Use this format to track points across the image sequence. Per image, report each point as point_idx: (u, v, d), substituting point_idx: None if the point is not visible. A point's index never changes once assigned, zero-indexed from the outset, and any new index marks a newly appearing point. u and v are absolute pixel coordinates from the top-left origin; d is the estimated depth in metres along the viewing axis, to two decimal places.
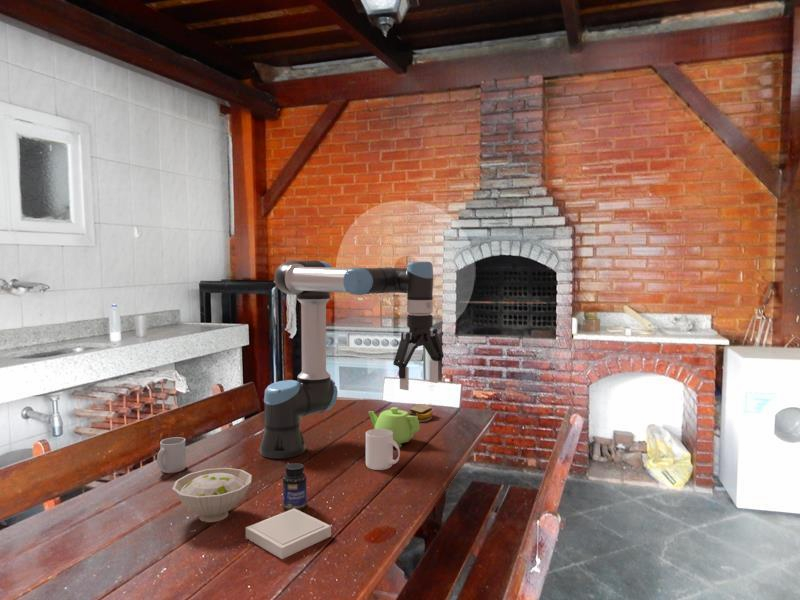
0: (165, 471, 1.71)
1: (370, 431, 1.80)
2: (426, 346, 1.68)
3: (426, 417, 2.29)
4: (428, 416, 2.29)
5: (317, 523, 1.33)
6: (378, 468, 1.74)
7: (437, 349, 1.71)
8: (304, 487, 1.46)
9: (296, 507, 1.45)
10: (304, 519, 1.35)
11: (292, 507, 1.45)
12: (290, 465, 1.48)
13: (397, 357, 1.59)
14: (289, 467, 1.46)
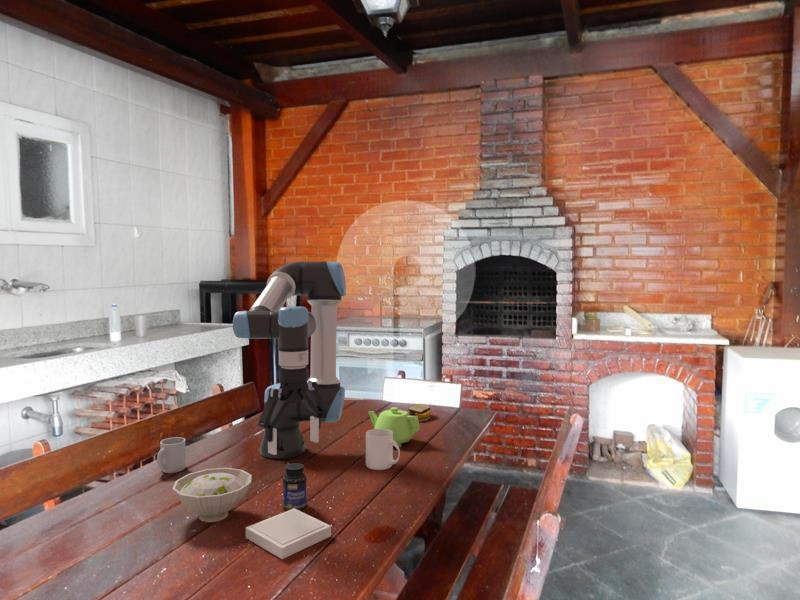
0: (165, 471, 1.71)
1: (370, 431, 1.80)
2: (304, 402, 1.49)
3: (425, 417, 2.29)
4: (427, 416, 2.30)
5: (317, 523, 1.33)
6: (378, 468, 1.74)
7: (318, 404, 1.51)
8: (304, 487, 1.46)
9: (296, 507, 1.45)
10: (304, 519, 1.35)
11: (292, 507, 1.45)
12: (290, 465, 1.48)
13: (262, 417, 1.39)
14: (289, 467, 1.46)
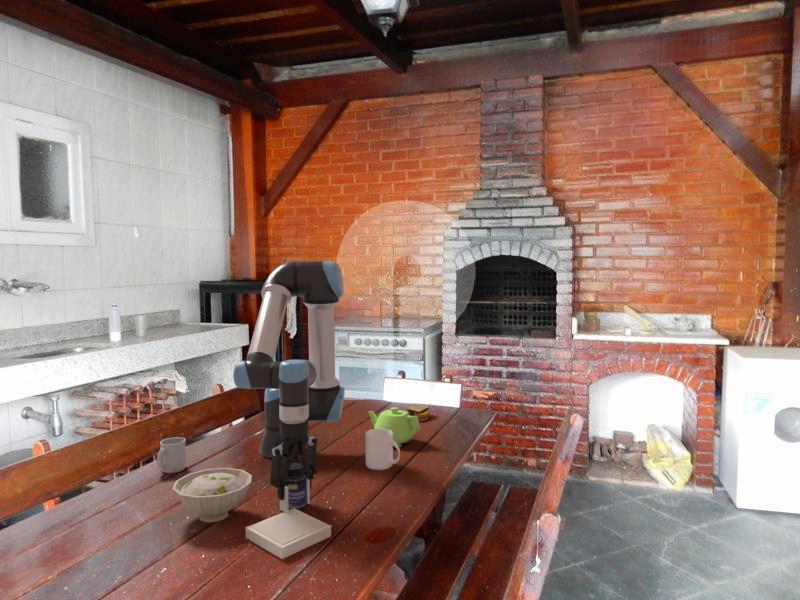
0: (165, 471, 1.71)
1: (370, 431, 1.80)
2: (300, 457, 1.49)
3: (424, 416, 2.30)
4: (426, 415, 2.30)
5: (317, 523, 1.33)
6: (378, 468, 1.74)
7: (312, 462, 1.51)
8: (304, 487, 1.46)
9: (296, 507, 1.45)
10: (304, 519, 1.35)
11: (292, 507, 1.45)
12: None
13: (272, 478, 1.42)
14: None
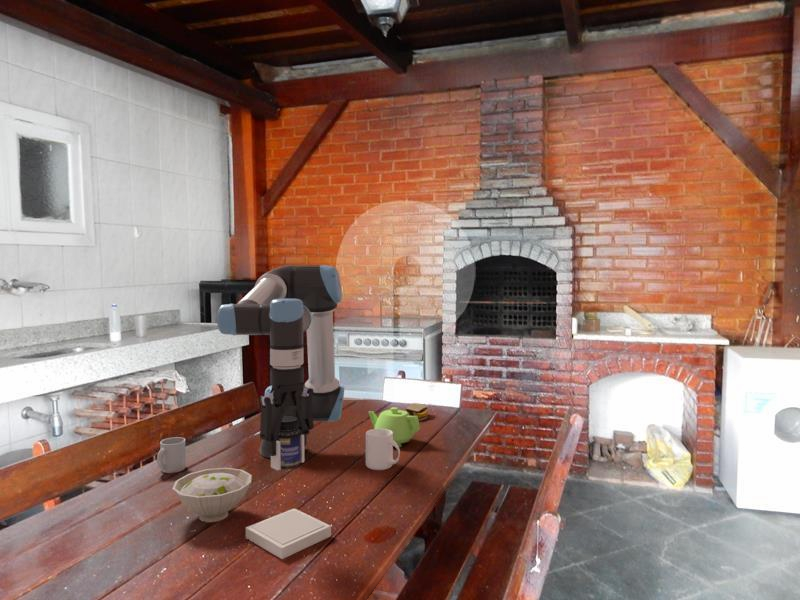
0: (165, 471, 1.71)
1: (370, 431, 1.80)
2: (293, 409, 1.31)
3: (423, 416, 2.30)
4: (425, 415, 2.31)
5: (317, 523, 1.33)
6: (378, 468, 1.74)
7: (307, 416, 1.33)
8: (298, 442, 1.29)
9: (289, 464, 1.28)
10: (304, 519, 1.35)
11: (284, 464, 1.28)
12: None
13: (262, 430, 1.25)
14: None
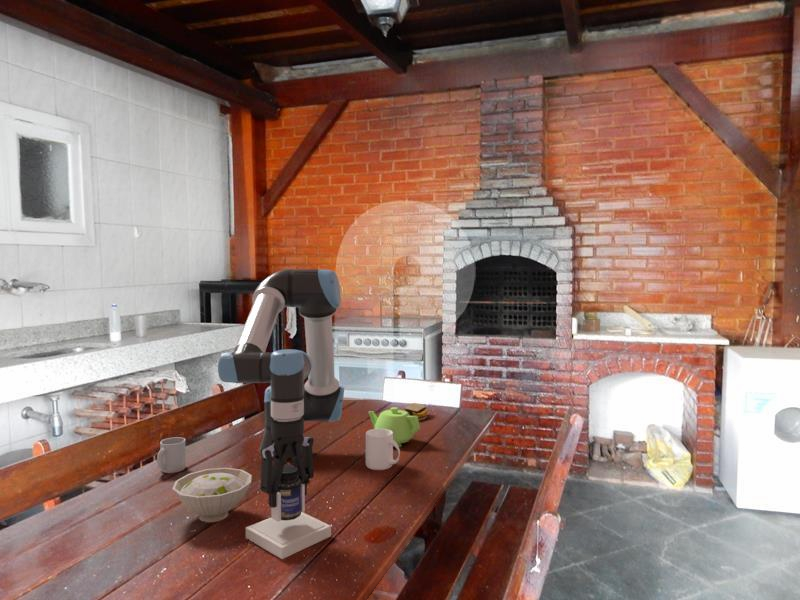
0: (165, 471, 1.71)
1: (370, 431, 1.80)
2: (294, 459, 1.32)
3: (422, 416, 2.30)
4: (424, 415, 2.31)
5: (317, 523, 1.33)
6: (378, 468, 1.74)
7: (307, 465, 1.34)
8: (298, 493, 1.30)
9: (289, 515, 1.29)
10: (304, 519, 1.35)
11: (285, 516, 1.28)
12: (283, 468, 1.31)
13: (263, 482, 1.26)
14: None
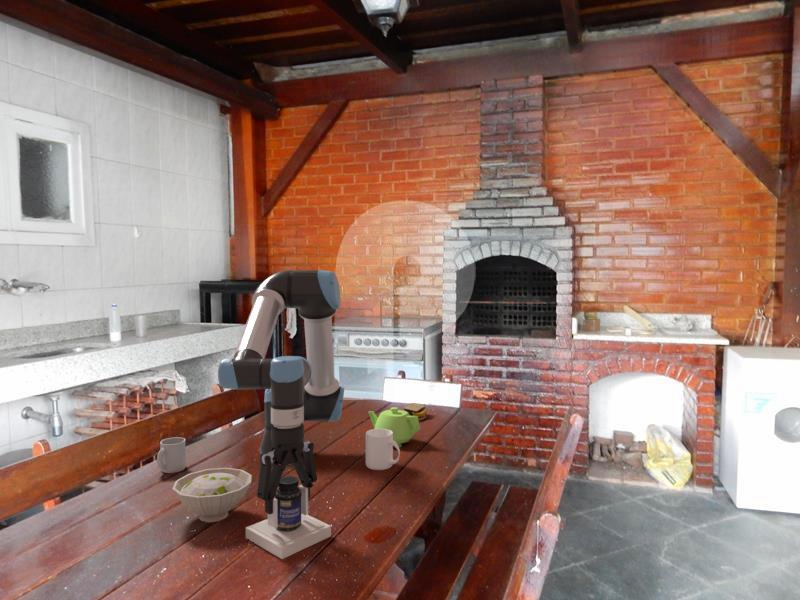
0: (165, 471, 1.71)
1: (370, 431, 1.80)
2: (295, 465, 1.33)
3: (421, 416, 2.31)
4: (423, 415, 2.31)
5: (317, 523, 1.33)
6: (378, 468, 1.74)
7: (310, 469, 1.35)
8: (299, 504, 1.30)
9: (290, 526, 1.29)
10: (304, 519, 1.35)
11: (285, 526, 1.29)
12: (283, 479, 1.31)
13: (260, 489, 1.26)
14: (282, 481, 1.30)
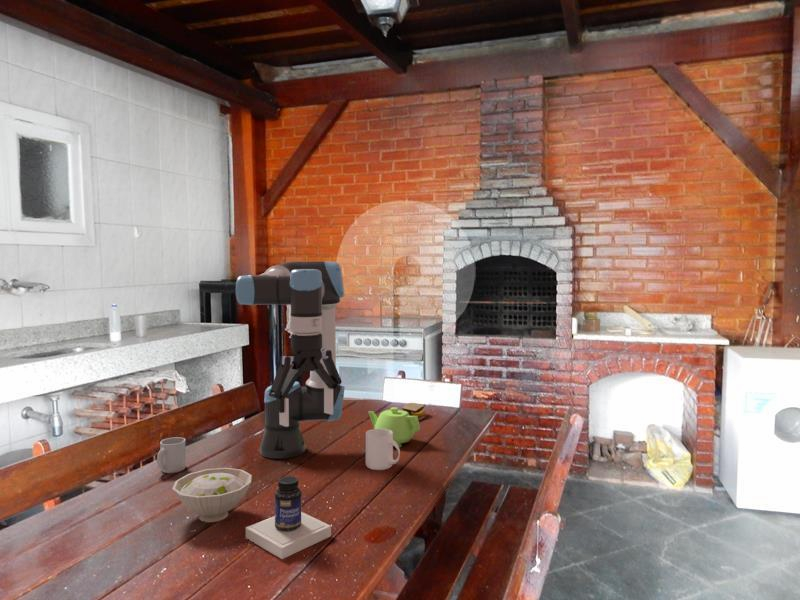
0: (165, 471, 1.71)
1: (370, 431, 1.80)
2: (317, 371, 1.39)
3: (420, 415, 2.31)
4: (422, 414, 2.32)
5: (317, 523, 1.33)
6: (378, 468, 1.74)
7: (333, 374, 1.42)
8: (299, 503, 1.30)
9: (290, 526, 1.29)
10: (304, 519, 1.35)
11: (285, 526, 1.29)
12: (283, 478, 1.32)
13: (273, 387, 1.30)
14: (282, 481, 1.30)
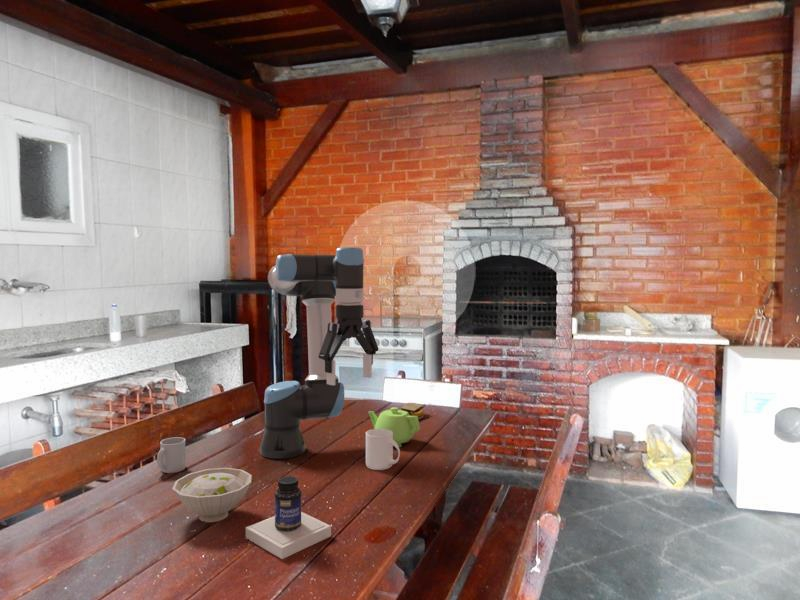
0: (165, 471, 1.71)
1: (370, 431, 1.80)
2: (358, 338, 1.57)
3: (419, 415, 2.31)
4: (421, 414, 2.32)
5: (317, 523, 1.33)
6: (378, 468, 1.74)
7: (371, 342, 1.60)
8: (299, 503, 1.30)
9: (289, 526, 1.29)
10: (304, 519, 1.35)
11: (285, 526, 1.29)
12: (283, 478, 1.32)
13: (322, 350, 1.48)
14: (281, 481, 1.30)
